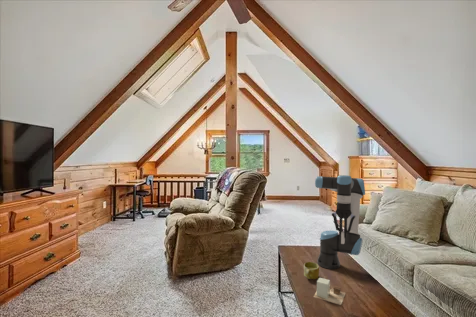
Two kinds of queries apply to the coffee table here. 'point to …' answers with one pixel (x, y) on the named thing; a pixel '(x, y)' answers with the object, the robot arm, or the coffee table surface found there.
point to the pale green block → (323, 288)
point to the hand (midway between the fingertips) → (342, 243)
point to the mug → (311, 270)
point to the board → (334, 295)
